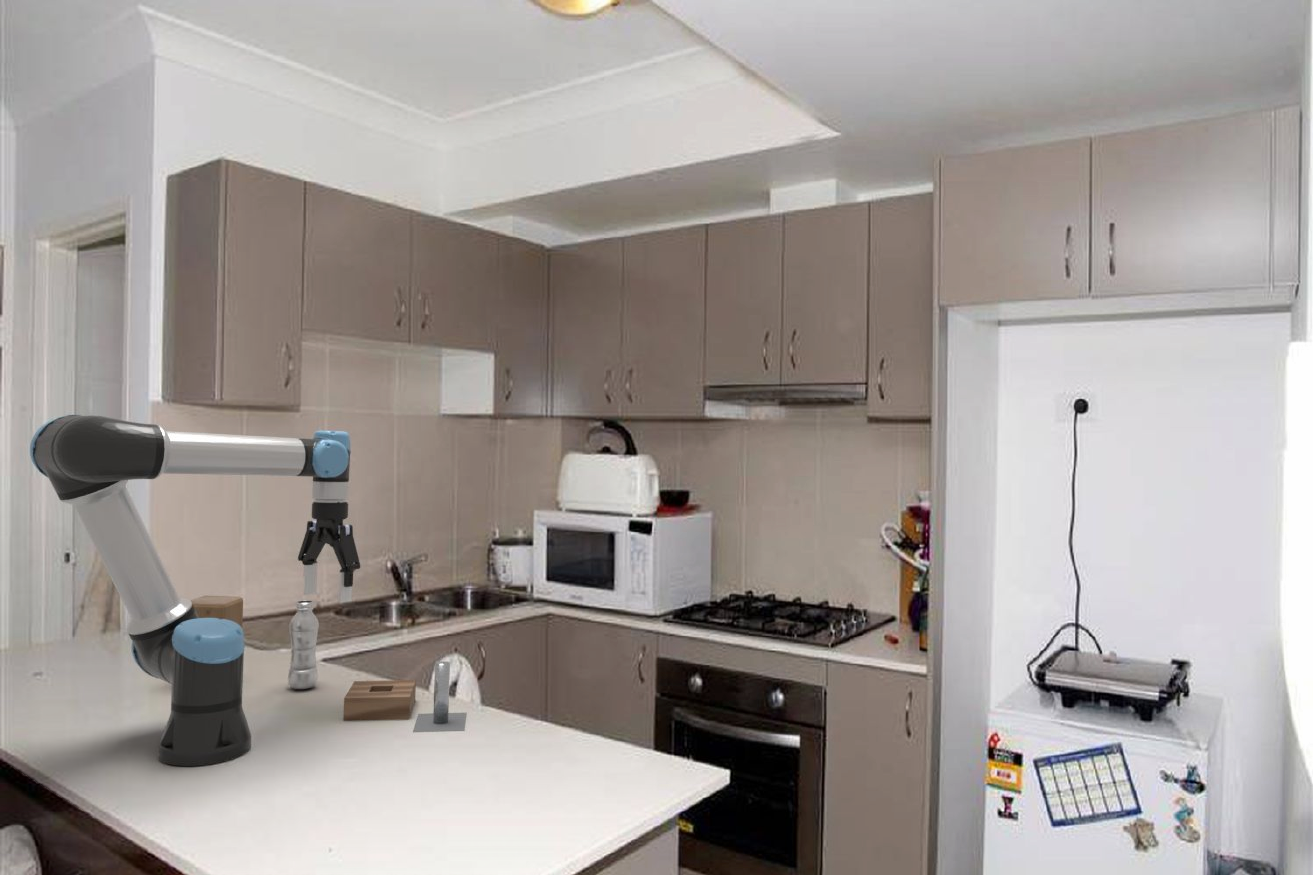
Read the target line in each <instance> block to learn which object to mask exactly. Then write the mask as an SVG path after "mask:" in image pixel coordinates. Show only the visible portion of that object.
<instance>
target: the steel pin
mask: <svg viewBox="0 0 1313 875" xmlns="http://www.w3.org/2000/svg"><path fill="white" fill-rule="evenodd" d="M450 670H451V662H449V661H445V660H444V661H436V662H434V680H433V682H434V684H433V685H434V686H433V690H434V691H433V723H434V724H445V723H448V713H450V712H449V710H450V709H449V708H450V706H449V705H450V704H449V703H450V673H451V671H450Z"/></svg>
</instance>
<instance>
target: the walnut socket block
mask: <svg viewBox="0 0 1313 875" xmlns="http://www.w3.org/2000/svg"><path fill="white" fill-rule="evenodd" d="M416 684H417V680H416V679H408V680H406V679H404V680H402V679H399V680H354V681H353V683H352V684H351V686H350V688H349V689H348V690H347V693H346V694H345V696H344V697H343V721H344V722H347V721H348V722H349V721H350V722H351V721H352V722H353V721H355V722H357V721H390V720H391V721H393V720H398V721H399V720H410V718H411V715H412V712H413V709H414V706H415V703H416V686H417V685H416Z"/></svg>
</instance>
